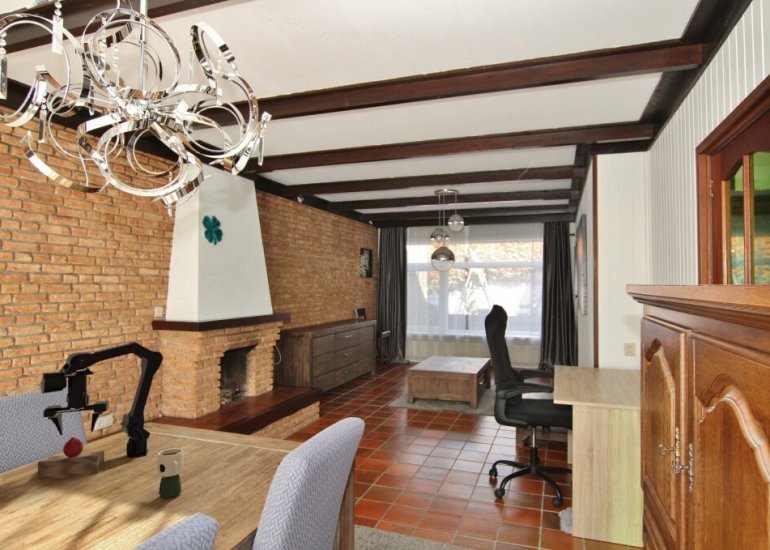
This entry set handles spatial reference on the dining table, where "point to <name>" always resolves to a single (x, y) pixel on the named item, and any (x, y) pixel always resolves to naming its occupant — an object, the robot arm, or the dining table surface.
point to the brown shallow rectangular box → (70, 465)
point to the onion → (73, 447)
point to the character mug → (170, 472)
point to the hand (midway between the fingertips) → (77, 433)
